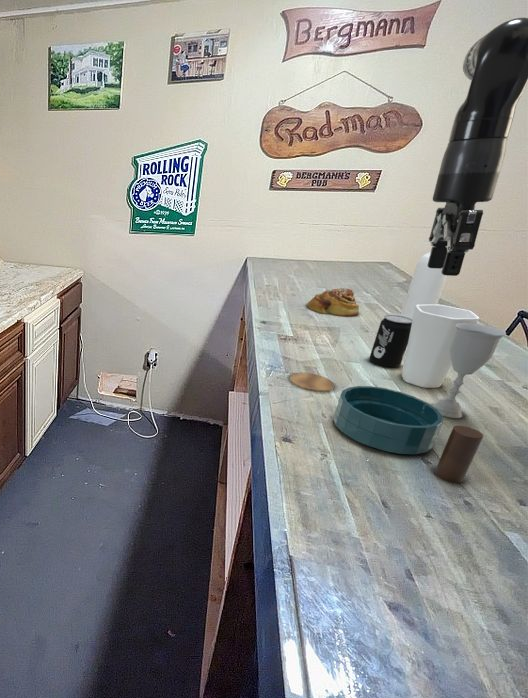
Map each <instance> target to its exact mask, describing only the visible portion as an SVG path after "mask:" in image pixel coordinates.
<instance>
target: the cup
mask: <svg viewBox="0 0 528 698" xmlns="http://www.w3.org/2000/svg"><path fill="white" fill-rule="evenodd" d="M479 320H480V317H479V316H478V315H477V314H476V313H475V312H474V311H472V310H469V309H464V308H459V307H455V306H450V305H445V304H439V303H438V304H430V305H416V306H415V310H414V315H413V320H412V325H411V330H410V336H409V341H408V345H407V348H406V351H405V355H404V356H405V357H404V362H403V366H402V371H401V378H402V379H403V381H404V382H406V383H407V384H411V385H414V386H416V387H417V386H418V387H421V388H425V389H429V388H430V389H431V388H433V389H434V388H440V387H441V385H442V384H443V382H444V381H445V378H446V377H447V375H448V374H449V372H450V370H451V368H453V366H452V362H451V357H450V348H451V345H452V342H453V340H454V337H455V335H456V332H457V329H456V324H459V323H471V324H478V322H479Z"/></svg>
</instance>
